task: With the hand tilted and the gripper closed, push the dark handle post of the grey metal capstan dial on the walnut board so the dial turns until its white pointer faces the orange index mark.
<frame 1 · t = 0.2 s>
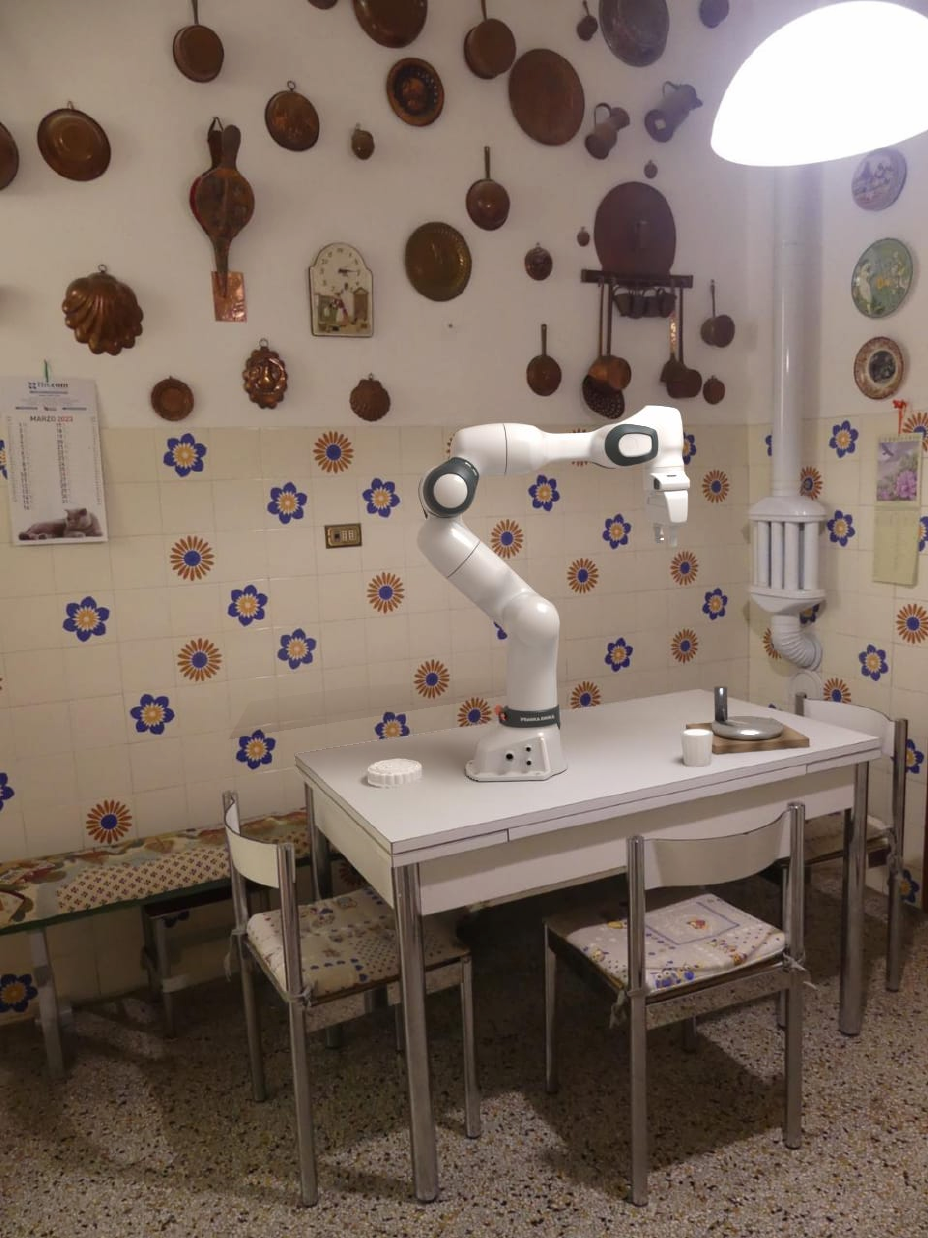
hand: (665, 544, 207), 48 cm above the table, tool pointing down, fingers open, 8 cm apart
dial board: (745, 739, 224), on the table
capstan: (745, 710, 222), point 7 cm above the table, hinge at 125.0°
white fluted cup: (697, 764, 207), on the table
mooncake: (395, 781, 207), on the table
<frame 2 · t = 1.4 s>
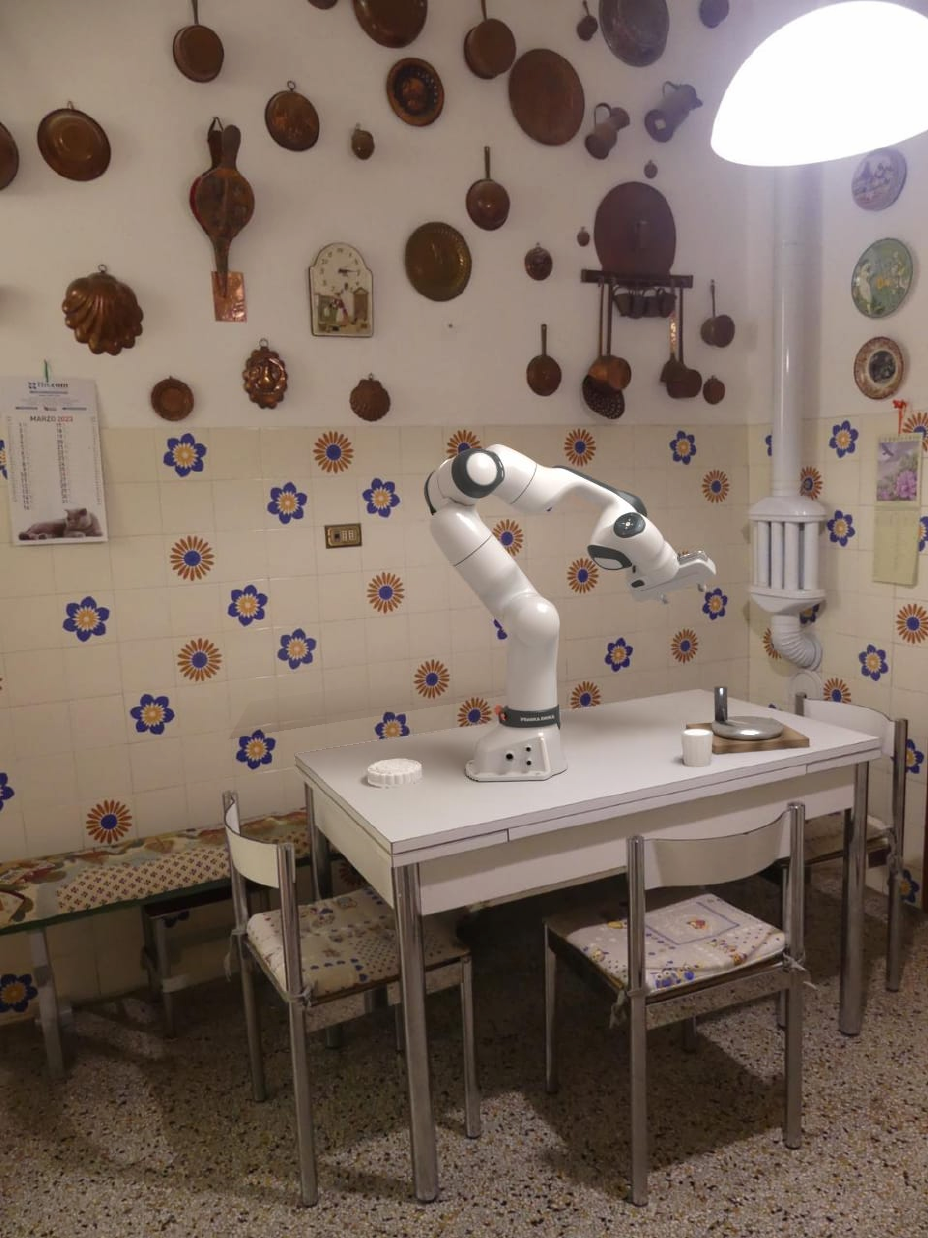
hand: (684, 595, 226), 34 cm above the table, tool tilted 50°, fingers open, 8 cm apart
nothing on the table moved.
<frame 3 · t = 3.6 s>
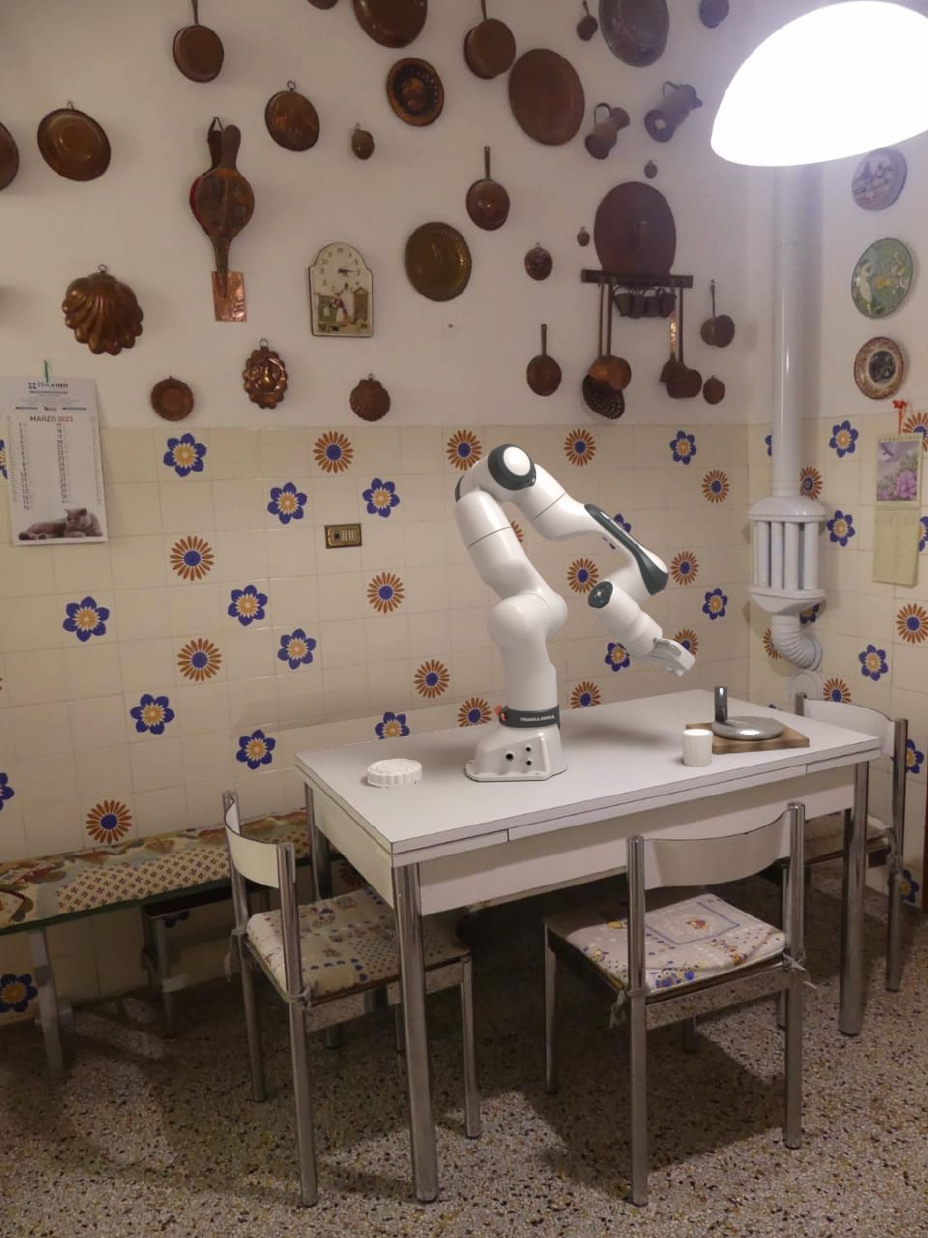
hand: (678, 673, 222), 17 cm above the table, tool tilted 45°, fingers closed
nothing on the table moved.
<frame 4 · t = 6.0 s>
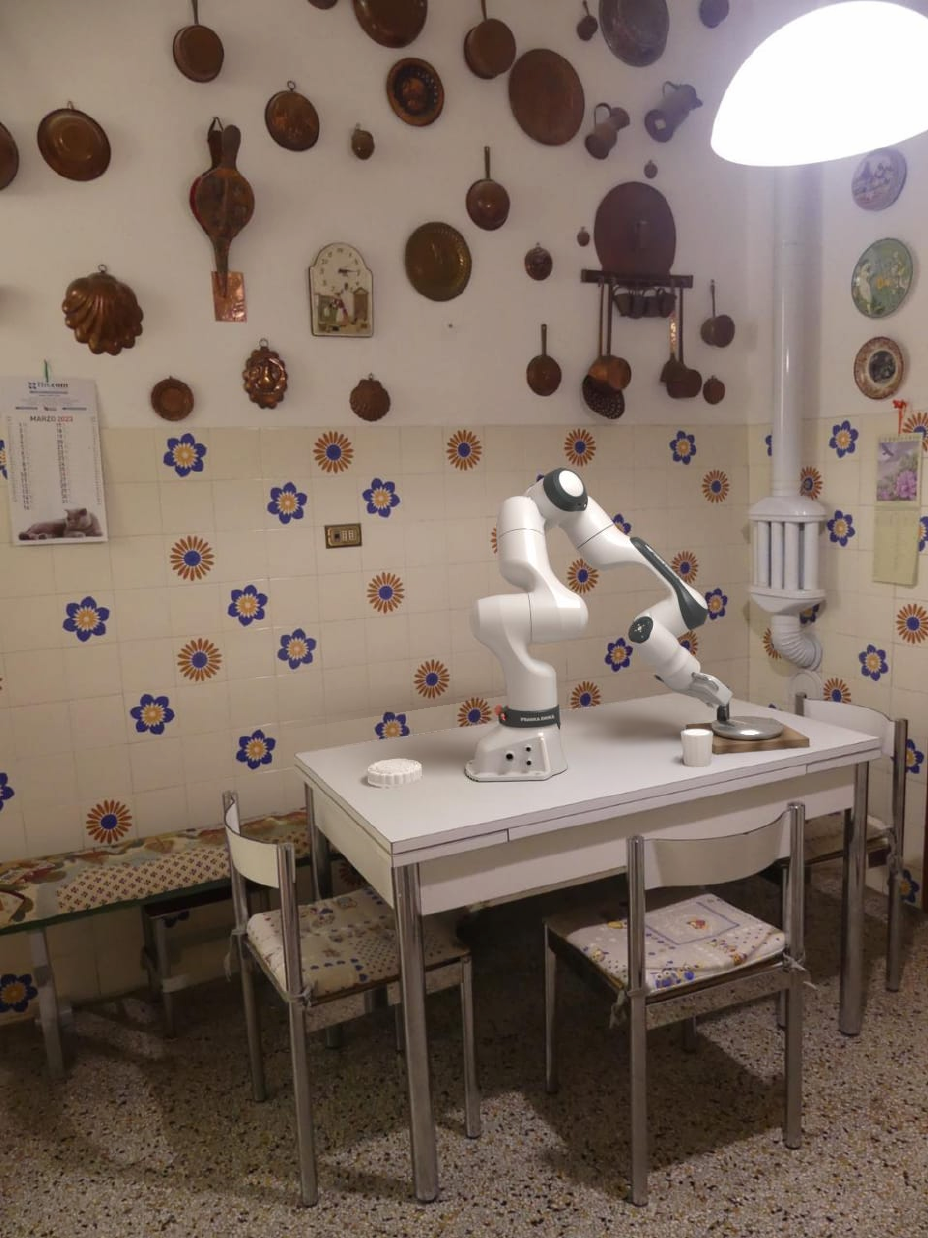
hand: (714, 705, 227), 7 cm above the table, tool tilted 45°, fingers closed, pressing on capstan
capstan: (745, 710, 222), point 7 cm above the table, hinge at 118.8°, touching gripper
everything else where it was.
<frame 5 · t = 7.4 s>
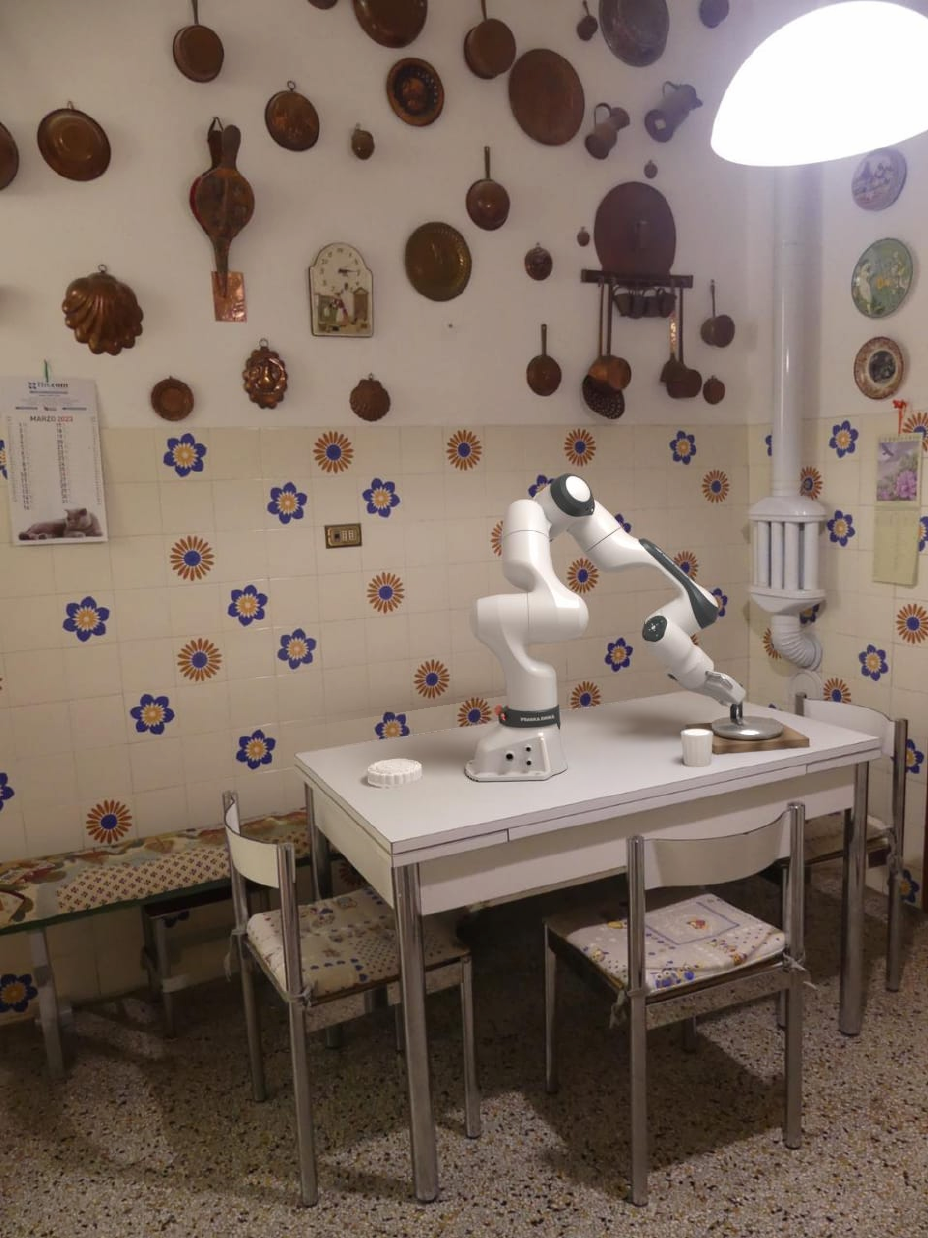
hand: (727, 704, 228), 7 cm above the table, tool tilted 45°, fingers closed, pressing on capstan
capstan: (746, 710, 222), point 7 cm above the table, hinge at 87.8°, touching gripper
everything else where it was.
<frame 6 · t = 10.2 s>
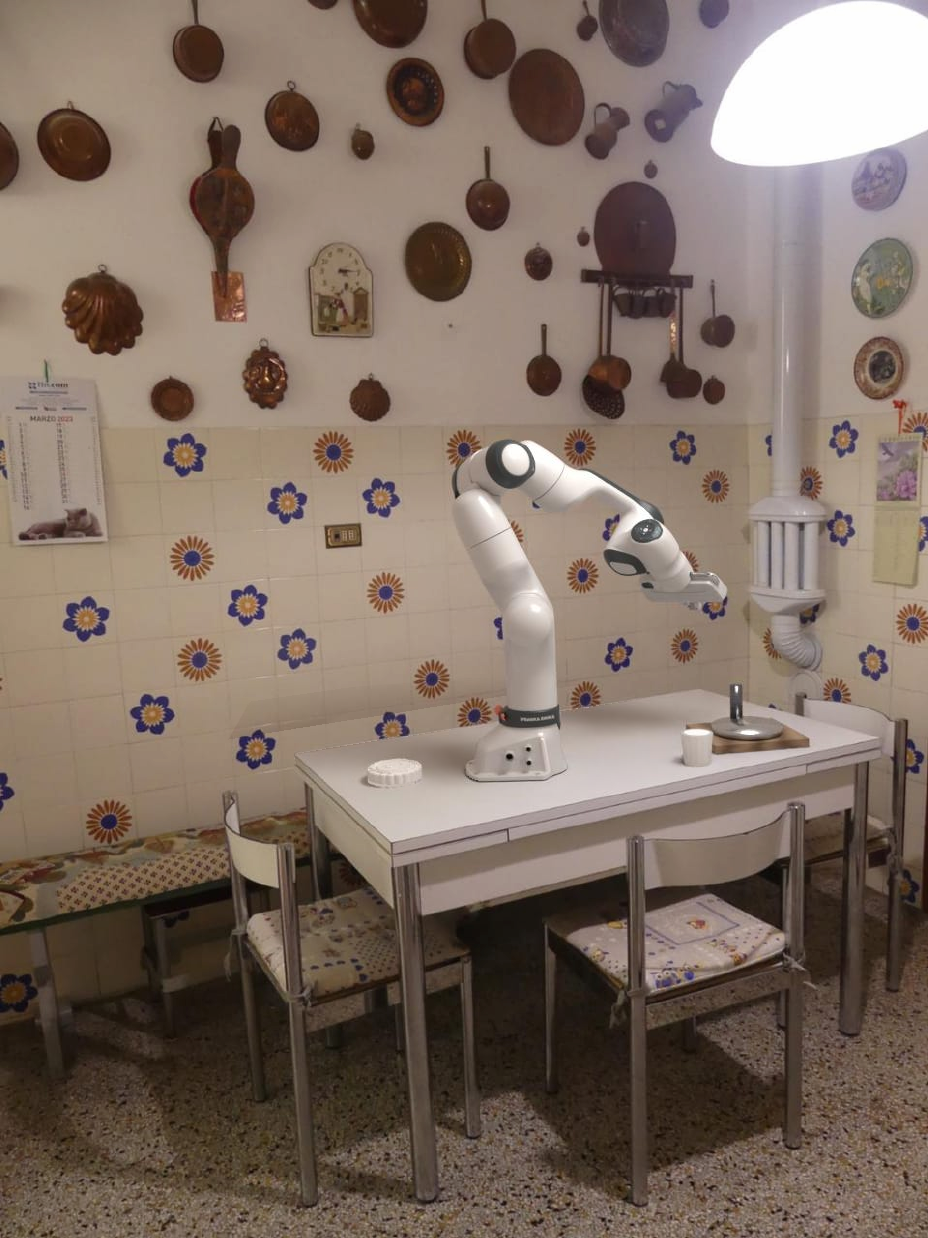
hand: (695, 608, 230), 30 cm above the table, tool tilted 45°, fingers closed
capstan: (746, 710, 222), point 7 cm above the table, hinge at 87.8°
everything else where it was.
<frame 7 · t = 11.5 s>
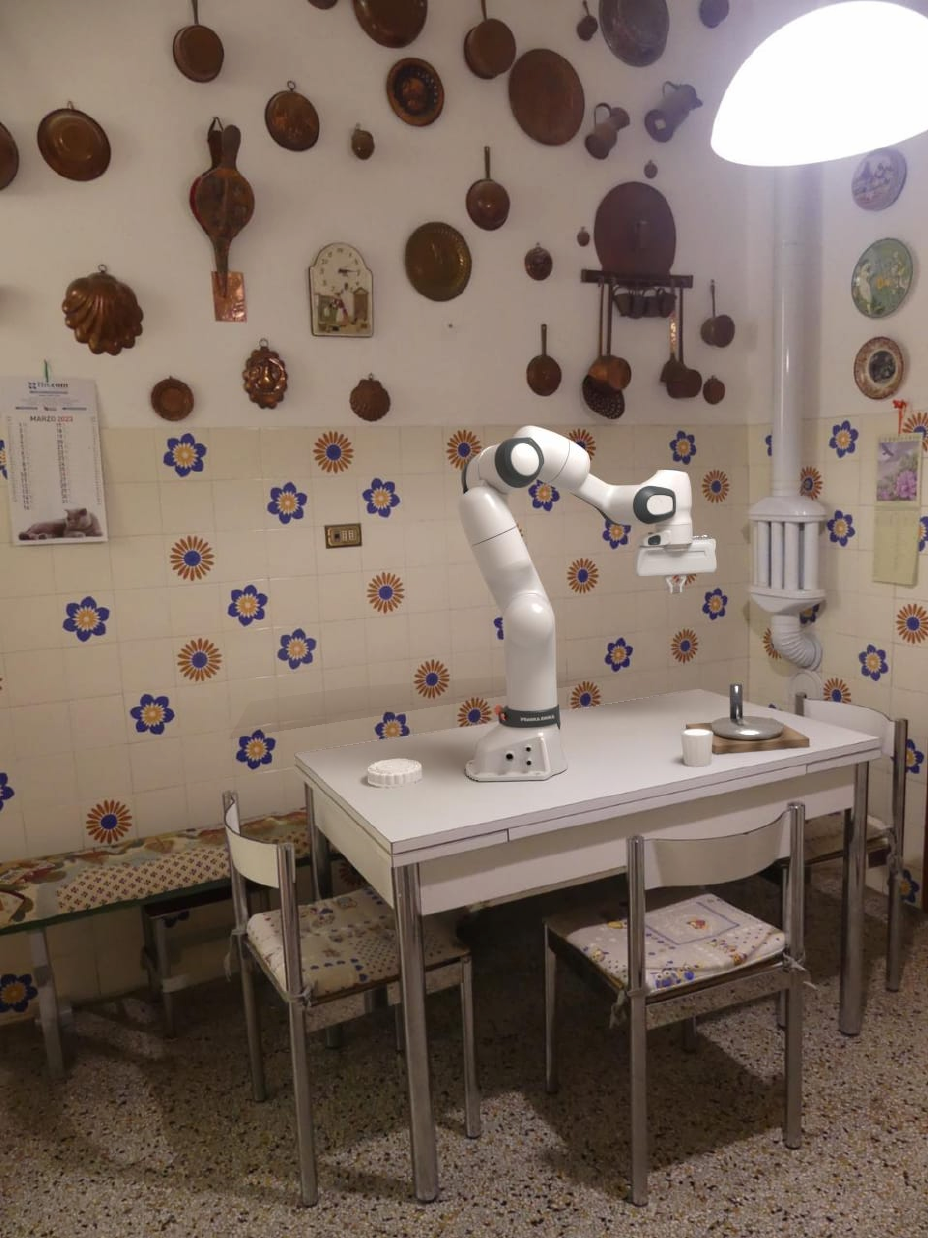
hand: (675, 593, 231), 34 cm above the table, tool pointing down, fingers closed
nothing on the table moved.
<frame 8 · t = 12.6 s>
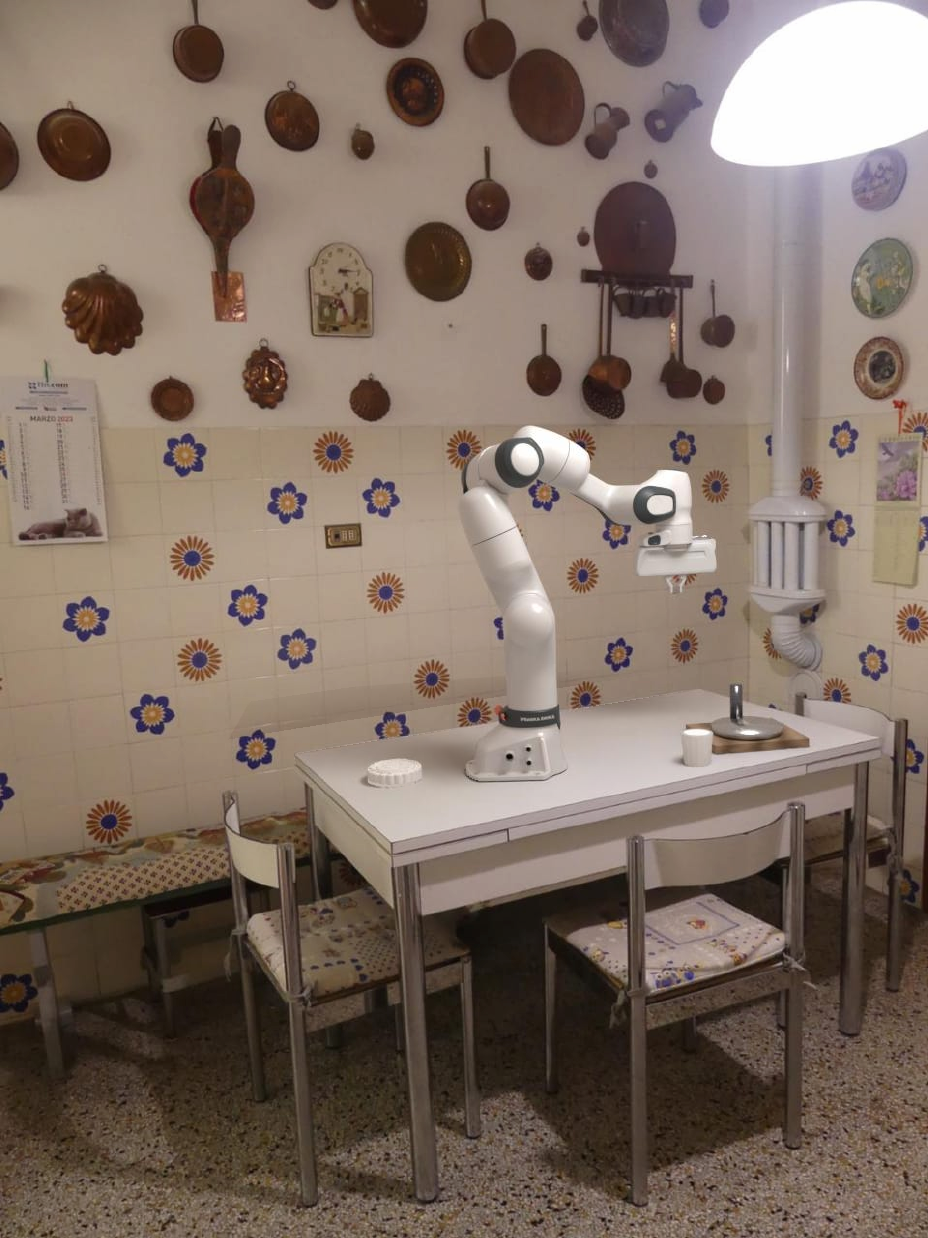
hand: (675, 593, 231), 34 cm above the table, tool pointing down, fingers closed
nothing on the table moved.
at the end: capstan at +88° (first picture: +125°); white fluted cup moved 0.2 cm from its start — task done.
